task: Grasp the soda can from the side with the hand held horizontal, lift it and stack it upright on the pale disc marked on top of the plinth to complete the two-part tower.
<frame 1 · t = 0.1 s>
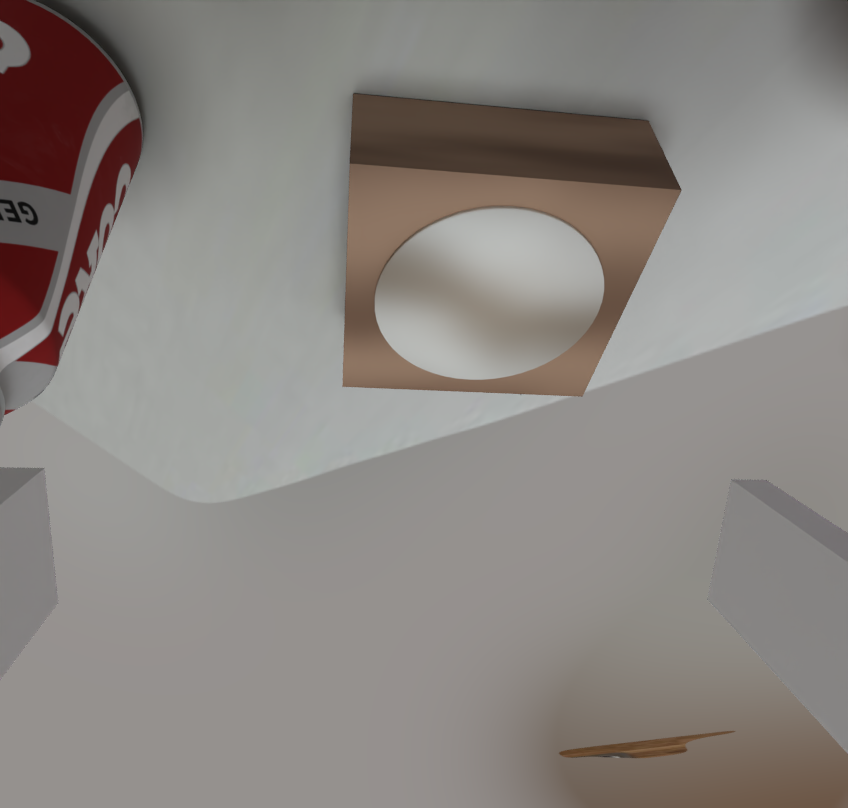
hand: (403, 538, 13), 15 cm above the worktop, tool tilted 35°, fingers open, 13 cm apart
soda can: (37, 91, 21), on the worktop
plinth: (477, 231, 26), on the worktop
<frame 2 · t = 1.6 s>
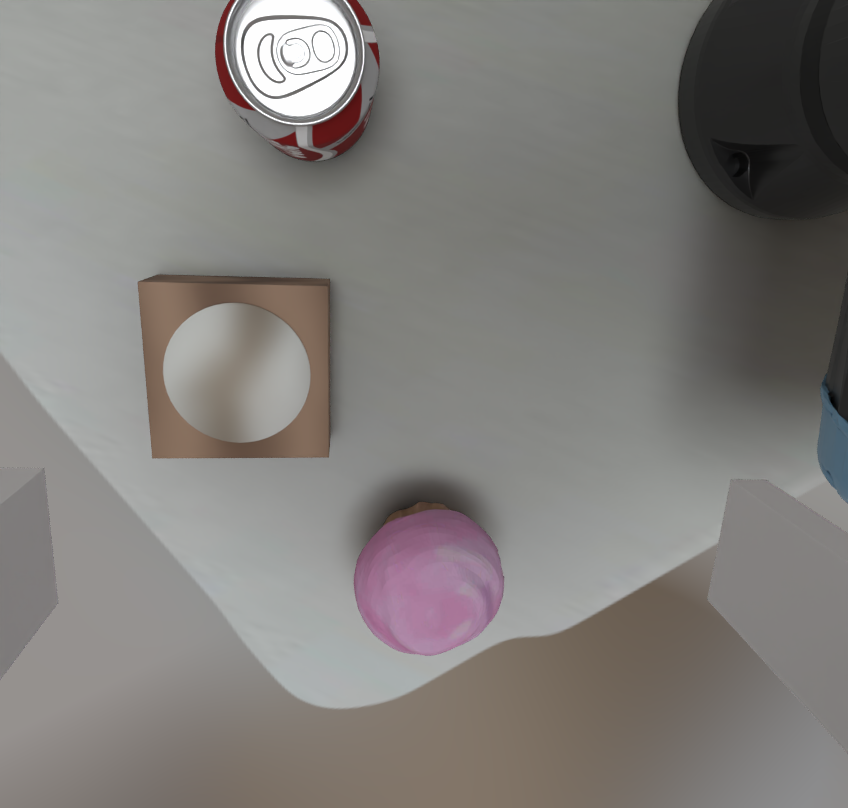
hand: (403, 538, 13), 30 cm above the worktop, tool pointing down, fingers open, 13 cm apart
soda can: (311, 98, 38), on the worktop
cupcake: (418, 530, 46), on the worktop
plinth: (248, 358, 41), on the worktop
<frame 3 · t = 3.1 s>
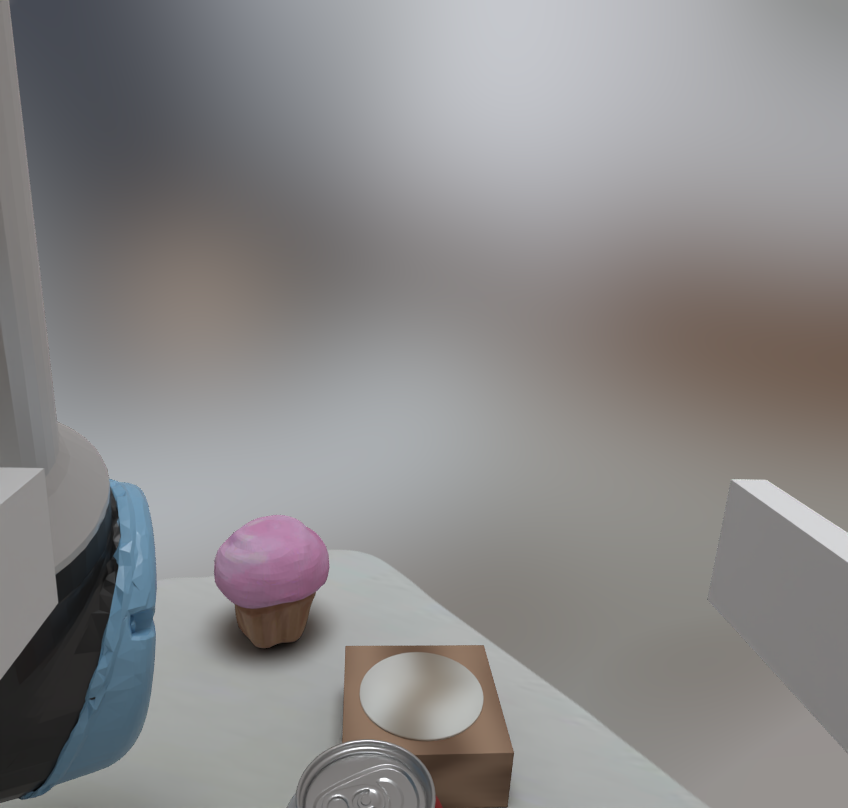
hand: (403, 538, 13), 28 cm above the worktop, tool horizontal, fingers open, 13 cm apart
cupcake: (272, 636, 55), on the worktop
plinth: (417, 744, 44), on the worktop
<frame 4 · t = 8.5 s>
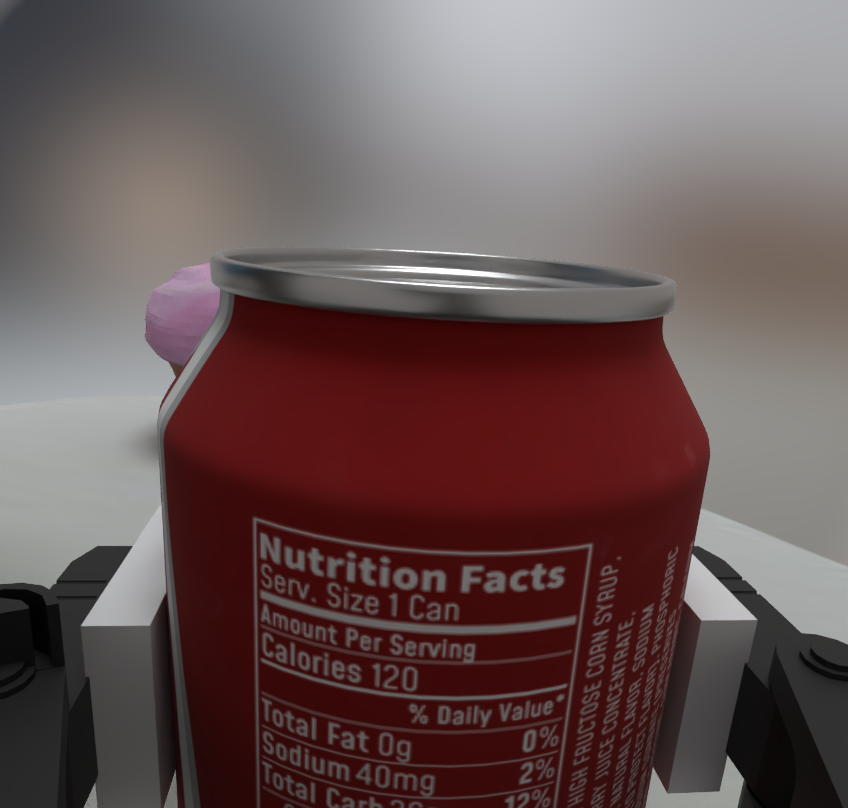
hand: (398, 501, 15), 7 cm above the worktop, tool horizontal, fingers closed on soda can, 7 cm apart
cupcake: (238, 446, 37), on the worktop
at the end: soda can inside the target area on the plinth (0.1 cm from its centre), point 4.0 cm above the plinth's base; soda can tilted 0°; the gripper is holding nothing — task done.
